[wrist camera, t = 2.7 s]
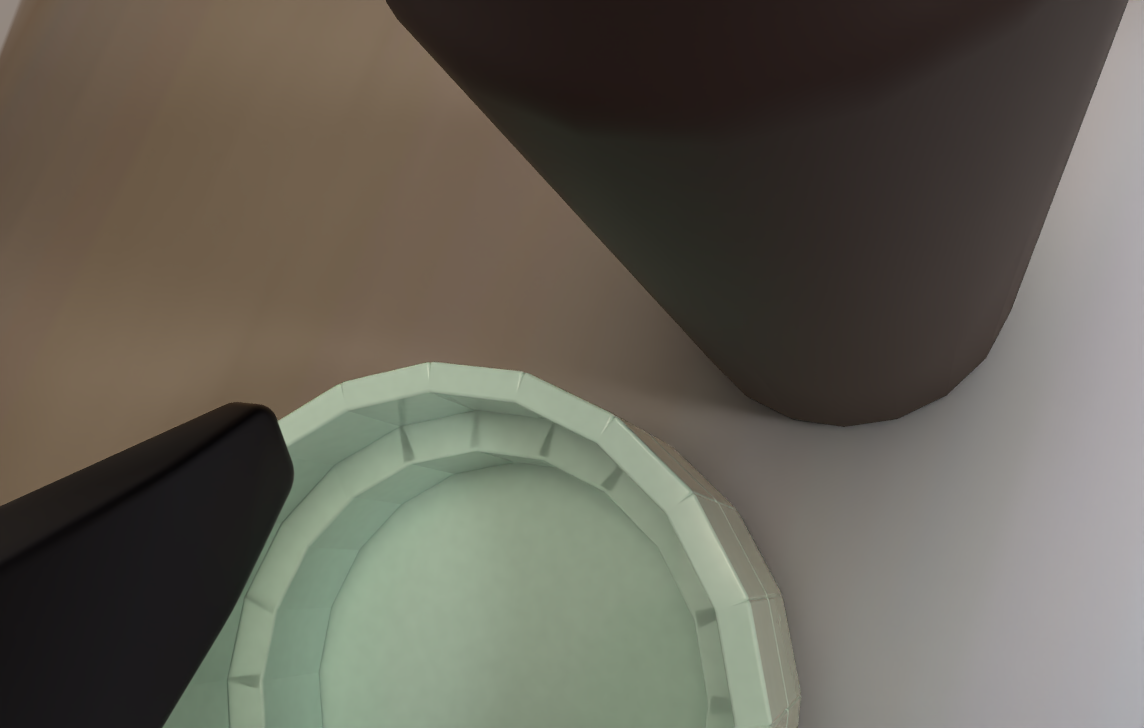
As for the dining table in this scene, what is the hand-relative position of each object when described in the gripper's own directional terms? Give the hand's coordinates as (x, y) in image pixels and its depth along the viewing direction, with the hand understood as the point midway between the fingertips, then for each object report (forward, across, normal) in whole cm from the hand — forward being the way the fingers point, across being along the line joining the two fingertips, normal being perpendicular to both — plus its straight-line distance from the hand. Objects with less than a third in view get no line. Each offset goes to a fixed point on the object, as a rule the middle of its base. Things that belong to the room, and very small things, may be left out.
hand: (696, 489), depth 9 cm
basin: (+6, +6, +12) cm, 14 cm away
